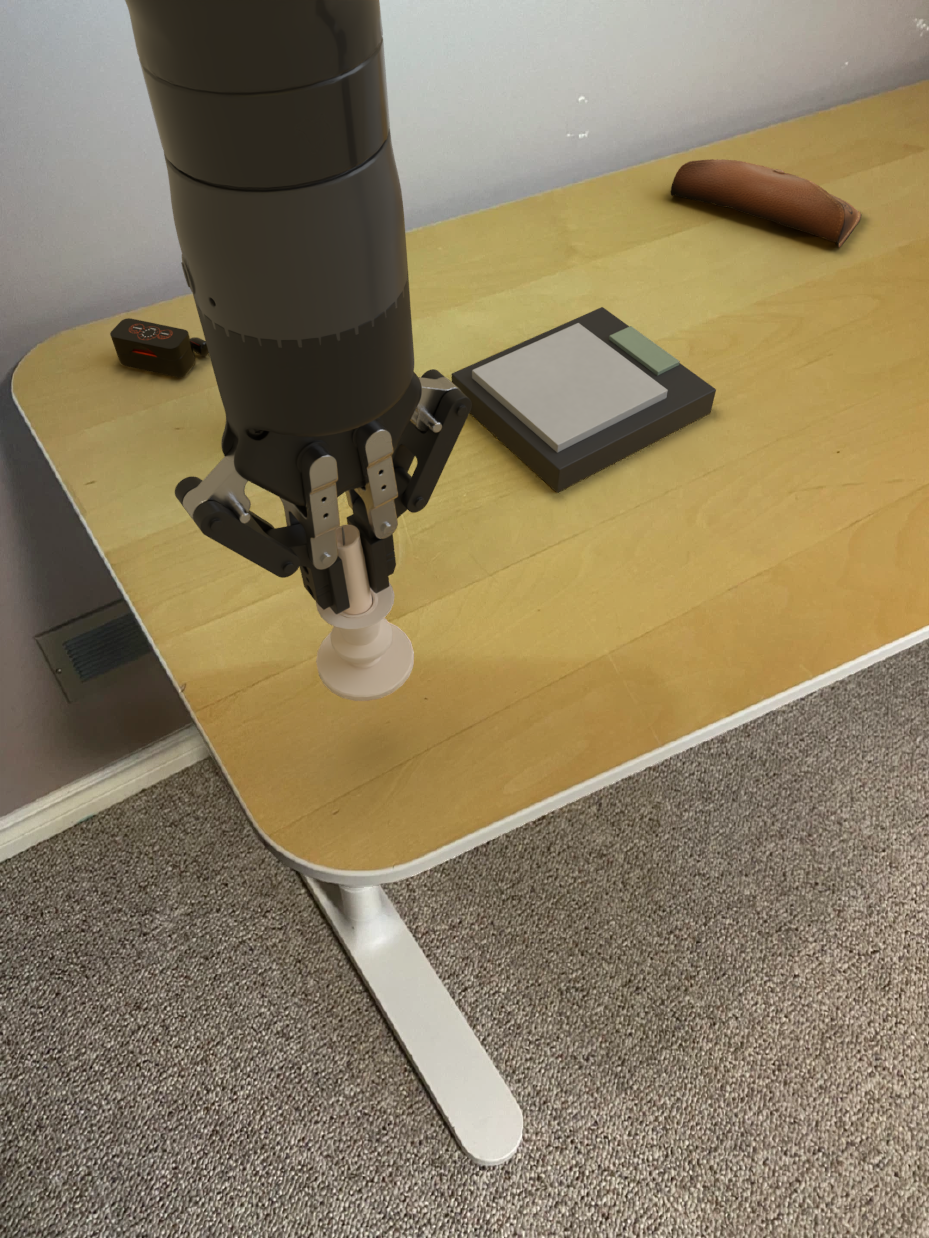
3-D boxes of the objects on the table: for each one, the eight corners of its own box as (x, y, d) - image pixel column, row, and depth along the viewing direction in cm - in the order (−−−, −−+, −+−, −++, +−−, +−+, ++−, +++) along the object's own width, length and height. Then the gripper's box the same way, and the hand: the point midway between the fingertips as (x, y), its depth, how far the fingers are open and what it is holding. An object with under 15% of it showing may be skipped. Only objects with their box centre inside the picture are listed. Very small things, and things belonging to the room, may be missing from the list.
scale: (599, 330, 85) (603, 298, 83) (711, 413, 78) (718, 381, 76) (451, 397, 80) (450, 365, 77) (557, 493, 72) (559, 461, 70)
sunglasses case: (867, 210, 97) (874, 167, 90) (835, 270, 96) (840, 232, 90) (702, 163, 103) (699, 120, 97) (672, 220, 103) (666, 181, 96)
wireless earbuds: (192, 384, 81) (183, 351, 78) (118, 368, 82) (107, 335, 80) (218, 352, 84) (210, 320, 81) (146, 337, 85) (135, 305, 83)
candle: (333, 715, 50) (302, 584, 41) (306, 640, 53) (272, 505, 44) (428, 683, 51) (416, 550, 42) (396, 612, 54) (379, 475, 46)
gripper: (160, 398, 29) (264, 711, 43) (522, 250, 34) (511, 575, 47) (70, 285, 33) (191, 605, 46) (406, 167, 38) (427, 489, 51)
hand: (353, 589), depth 47 cm, fingers closed on candle
